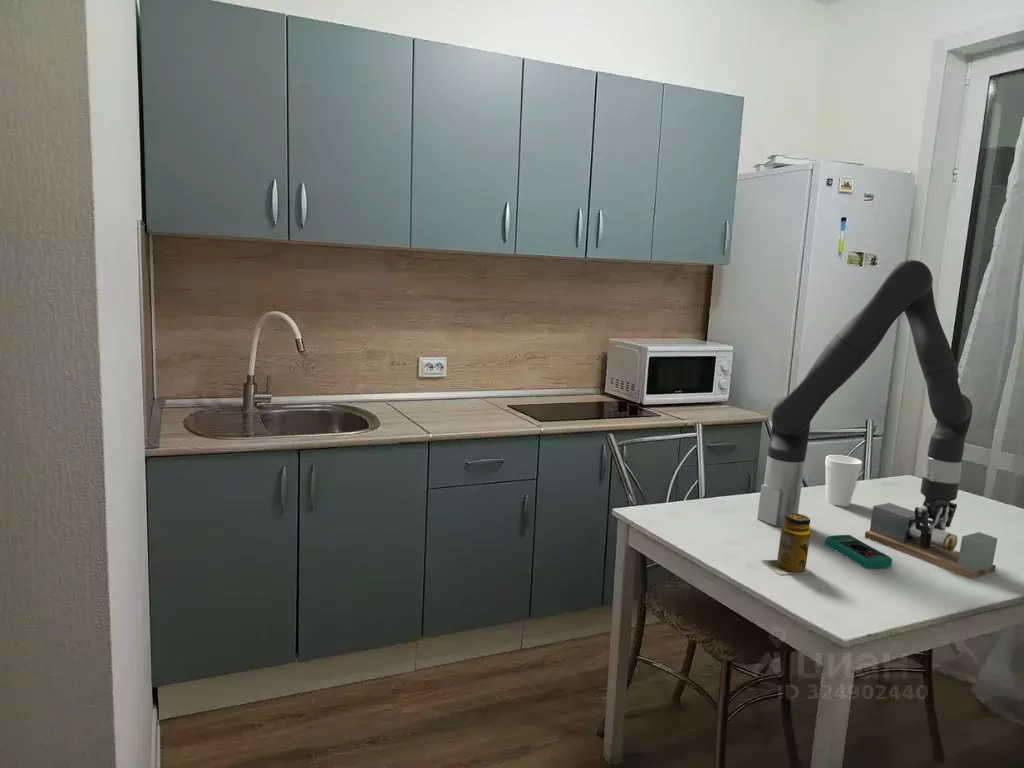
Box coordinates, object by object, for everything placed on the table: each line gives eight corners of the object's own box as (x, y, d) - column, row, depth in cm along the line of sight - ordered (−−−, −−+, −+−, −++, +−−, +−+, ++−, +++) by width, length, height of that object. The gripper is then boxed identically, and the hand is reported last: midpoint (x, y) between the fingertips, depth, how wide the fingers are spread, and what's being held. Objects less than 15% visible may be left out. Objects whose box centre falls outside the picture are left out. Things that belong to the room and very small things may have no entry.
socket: (975, 571, 163) (980, 542, 161) (957, 564, 166) (962, 536, 165) (992, 566, 166) (997, 538, 165) (974, 559, 170) (979, 532, 168)
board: (970, 579, 162) (971, 572, 162) (864, 537, 184) (865, 531, 184) (994, 571, 167) (995, 565, 167) (888, 531, 189) (889, 526, 189)
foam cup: (813, 497, 214) (819, 455, 212) (840, 496, 217) (846, 454, 214) (834, 508, 205) (841, 464, 203) (862, 507, 208) (869, 464, 205)
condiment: (813, 573, 160) (821, 521, 158) (779, 575, 158) (786, 522, 156) (794, 560, 167) (800, 510, 165) (760, 561, 165) (767, 511, 163)
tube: (946, 552, 170) (949, 536, 169) (871, 524, 186) (873, 509, 185) (955, 549, 172) (958, 533, 171) (881, 522, 188) (883, 507, 187)
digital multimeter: (867, 571, 164) (869, 559, 163) (822, 545, 178) (824, 534, 177) (893, 570, 166) (895, 557, 165) (847, 544, 180) (849, 533, 179)
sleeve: (903, 543, 177) (907, 517, 176) (869, 530, 185) (873, 505, 184) (919, 539, 180) (923, 514, 179) (885, 527, 188) (889, 502, 187)
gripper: (942, 469, 179) (931, 536, 182) (908, 475, 172) (897, 544, 175) (974, 478, 172) (962, 547, 175) (939, 485, 165) (927, 556, 168)
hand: (929, 545), depth 175 cm, fingers closed on tube, 4 cm apart
